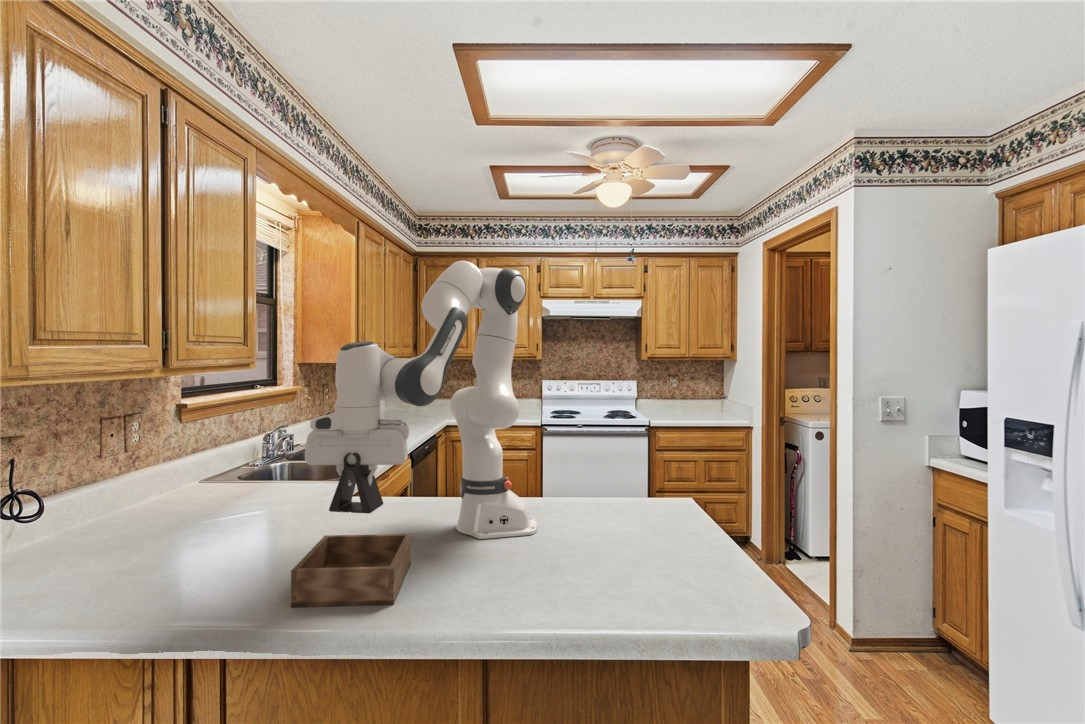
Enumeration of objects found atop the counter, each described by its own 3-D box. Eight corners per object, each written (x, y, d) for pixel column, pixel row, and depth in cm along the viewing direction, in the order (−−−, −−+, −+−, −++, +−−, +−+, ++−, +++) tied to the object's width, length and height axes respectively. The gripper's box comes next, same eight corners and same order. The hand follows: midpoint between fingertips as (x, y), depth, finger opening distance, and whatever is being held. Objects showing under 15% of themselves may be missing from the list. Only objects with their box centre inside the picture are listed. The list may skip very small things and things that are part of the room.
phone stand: (383, 505, 110) (384, 448, 110) (371, 513, 104) (371, 454, 104) (343, 503, 111) (343, 447, 111) (328, 511, 105) (329, 452, 105)
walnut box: (410, 564, 118) (410, 534, 118) (393, 604, 99) (393, 568, 99) (324, 566, 116) (324, 535, 116) (290, 607, 97) (291, 570, 97)
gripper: (411, 417, 111) (410, 481, 111) (313, 417, 110) (312, 482, 110) (406, 421, 105) (405, 489, 105) (301, 421, 103) (301, 490, 103)
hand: (357, 485), depth 107 cm, fingers closed on phone stand, 3 cm apart
